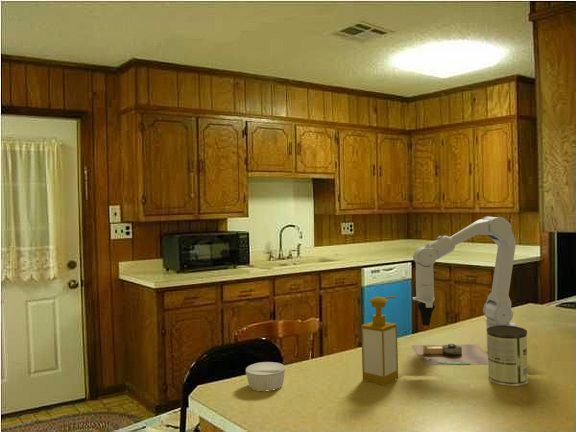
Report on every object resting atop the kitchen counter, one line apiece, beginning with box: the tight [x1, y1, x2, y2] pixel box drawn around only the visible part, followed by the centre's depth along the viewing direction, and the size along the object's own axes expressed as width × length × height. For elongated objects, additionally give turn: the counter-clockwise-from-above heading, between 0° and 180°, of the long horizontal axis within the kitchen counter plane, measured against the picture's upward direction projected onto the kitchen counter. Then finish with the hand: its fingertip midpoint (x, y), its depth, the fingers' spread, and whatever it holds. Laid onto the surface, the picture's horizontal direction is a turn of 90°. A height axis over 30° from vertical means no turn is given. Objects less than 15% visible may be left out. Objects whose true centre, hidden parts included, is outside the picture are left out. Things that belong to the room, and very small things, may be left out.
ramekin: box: [245, 361, 286, 392], centre depth 150 cm, size 11×11×5 cm
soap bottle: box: [360, 296, 399, 386], centre depth 155 cm, size 7×13×24 cm, turn 137°
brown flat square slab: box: [411, 343, 488, 366], centre depth 171 cm, size 22×22×1 cm
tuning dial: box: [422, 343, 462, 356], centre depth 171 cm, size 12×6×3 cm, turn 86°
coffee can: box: [486, 326, 529, 387], centre depth 148 cm, size 10×10×14 cm
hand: (425, 325), depth 177 cm, fingers closed
